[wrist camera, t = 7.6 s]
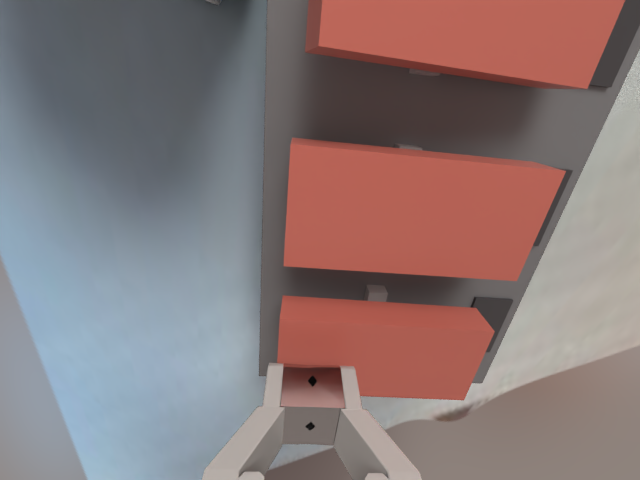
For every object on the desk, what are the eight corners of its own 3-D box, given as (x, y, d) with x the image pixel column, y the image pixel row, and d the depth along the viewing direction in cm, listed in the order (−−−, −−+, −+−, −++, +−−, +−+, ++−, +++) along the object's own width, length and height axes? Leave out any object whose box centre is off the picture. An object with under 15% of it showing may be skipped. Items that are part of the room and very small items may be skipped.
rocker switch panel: (598, -72, 12) (763, -166, 7) (450, 331, 20) (487, 392, 16) (283, -127, 11) (269, -271, 6) (267, 322, 19) (257, 386, 15)
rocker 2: (533, 161, 10) (566, 171, 9) (493, 260, 12) (516, 281, 10) (292, 137, 9) (290, 143, 8) (286, 246, 11) (283, 266, 10)
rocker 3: (476, 307, 13) (494, 331, 11) (449, 372, 14) (463, 400, 13) (282, 295, 12) (279, 319, 11) (278, 364, 14) (275, 392, 12)
